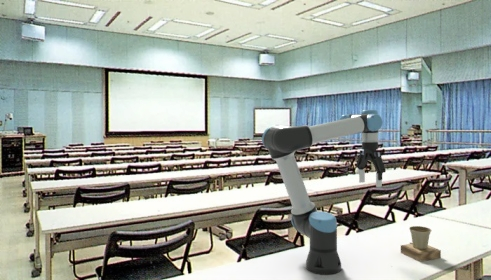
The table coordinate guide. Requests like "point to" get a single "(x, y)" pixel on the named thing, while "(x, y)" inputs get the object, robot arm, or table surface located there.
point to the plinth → (420, 252)
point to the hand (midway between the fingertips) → (370, 184)
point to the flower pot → (420, 236)
